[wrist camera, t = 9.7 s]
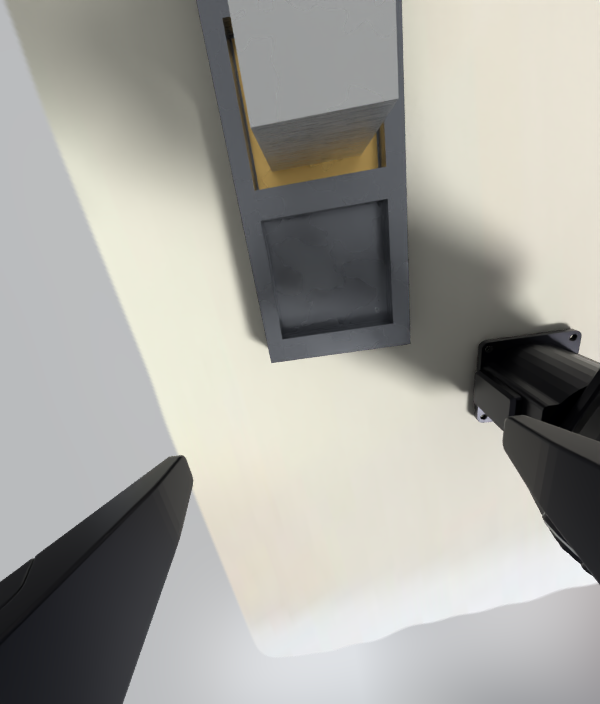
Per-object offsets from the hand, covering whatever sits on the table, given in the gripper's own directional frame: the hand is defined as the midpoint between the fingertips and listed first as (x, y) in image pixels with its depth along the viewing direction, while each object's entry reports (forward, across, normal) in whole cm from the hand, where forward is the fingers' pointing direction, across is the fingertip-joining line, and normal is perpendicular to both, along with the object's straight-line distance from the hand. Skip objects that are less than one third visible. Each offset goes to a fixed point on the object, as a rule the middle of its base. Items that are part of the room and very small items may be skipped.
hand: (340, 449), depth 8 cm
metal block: (+12, -1, -12) cm, 17 cm away
